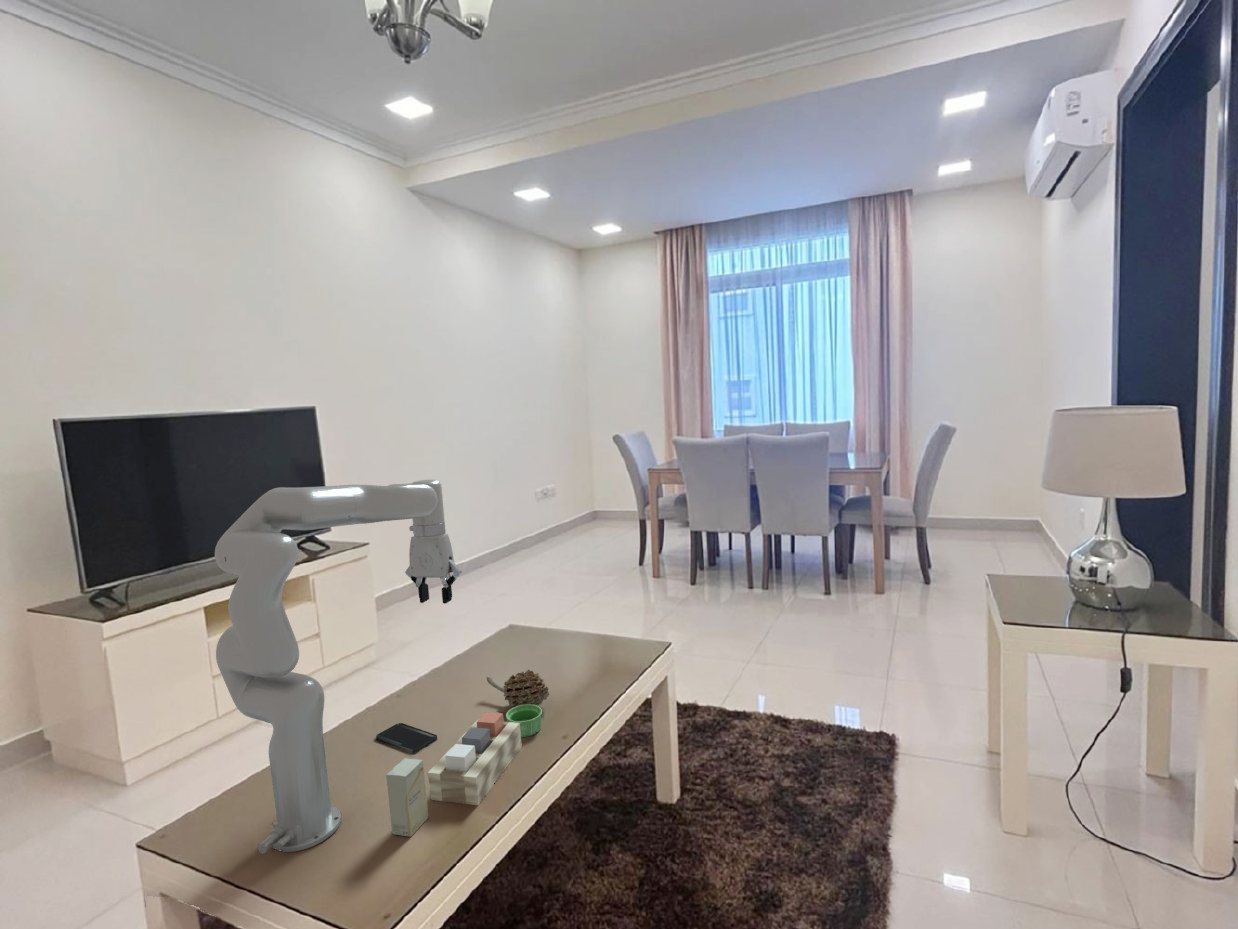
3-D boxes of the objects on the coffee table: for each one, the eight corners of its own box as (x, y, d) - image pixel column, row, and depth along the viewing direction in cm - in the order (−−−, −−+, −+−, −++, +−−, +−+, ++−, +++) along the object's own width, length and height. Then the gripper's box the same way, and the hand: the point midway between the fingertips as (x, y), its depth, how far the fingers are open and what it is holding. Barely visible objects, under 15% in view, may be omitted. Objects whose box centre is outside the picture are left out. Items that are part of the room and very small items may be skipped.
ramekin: (522, 743, 152) (521, 725, 151) (499, 731, 158) (498, 714, 157) (550, 727, 158) (549, 710, 158) (527, 716, 164) (526, 700, 164)
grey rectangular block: (482, 763, 137) (480, 739, 137) (463, 761, 139) (461, 737, 138) (491, 752, 142) (489, 728, 141) (473, 750, 143) (471, 727, 142)
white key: (466, 782, 131) (464, 757, 130) (447, 780, 132) (444, 755, 131) (476, 770, 135) (474, 745, 134) (458, 768, 136) (455, 743, 136)
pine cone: (559, 703, 170) (556, 668, 169) (538, 720, 162) (535, 683, 161) (495, 689, 181) (492, 656, 180) (472, 704, 173) (469, 670, 172)
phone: (399, 722, 164) (439, 735, 156) (399, 726, 164) (439, 740, 156) (373, 736, 157) (413, 751, 149) (373, 741, 157) (413, 756, 149)
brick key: (496, 746, 144) (494, 723, 144) (478, 744, 145) (476, 721, 145) (504, 735, 148) (503, 713, 148) (487, 734, 150) (485, 712, 149)
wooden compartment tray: (478, 805, 128) (475, 777, 128) (430, 799, 131) (427, 772, 131) (521, 747, 150) (519, 722, 149) (479, 743, 152) (477, 719, 152)
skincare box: (410, 838, 120) (404, 777, 119) (390, 834, 121) (384, 775, 120) (429, 816, 126) (424, 759, 125) (410, 813, 127) (404, 756, 126)
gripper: (389, 533, 154) (396, 605, 156) (453, 533, 149) (459, 607, 151) (407, 527, 161) (414, 596, 163) (468, 526, 157) (474, 597, 158)
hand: (435, 600), depth 157 cm, fingers open, 5 cm apart
